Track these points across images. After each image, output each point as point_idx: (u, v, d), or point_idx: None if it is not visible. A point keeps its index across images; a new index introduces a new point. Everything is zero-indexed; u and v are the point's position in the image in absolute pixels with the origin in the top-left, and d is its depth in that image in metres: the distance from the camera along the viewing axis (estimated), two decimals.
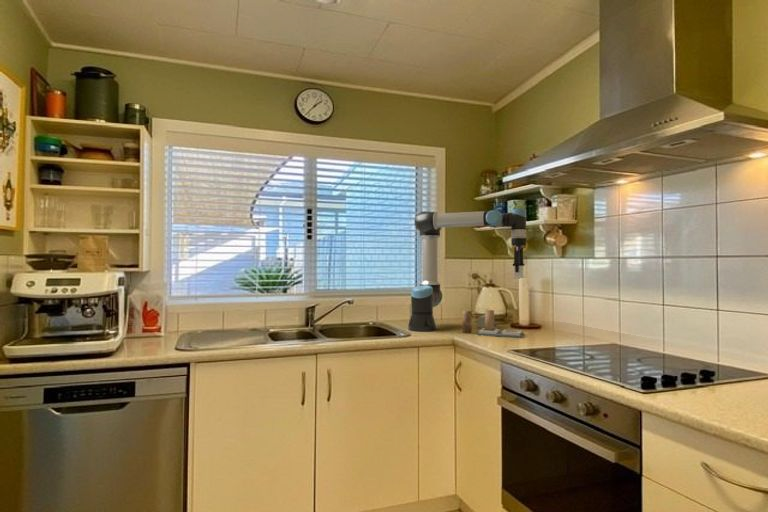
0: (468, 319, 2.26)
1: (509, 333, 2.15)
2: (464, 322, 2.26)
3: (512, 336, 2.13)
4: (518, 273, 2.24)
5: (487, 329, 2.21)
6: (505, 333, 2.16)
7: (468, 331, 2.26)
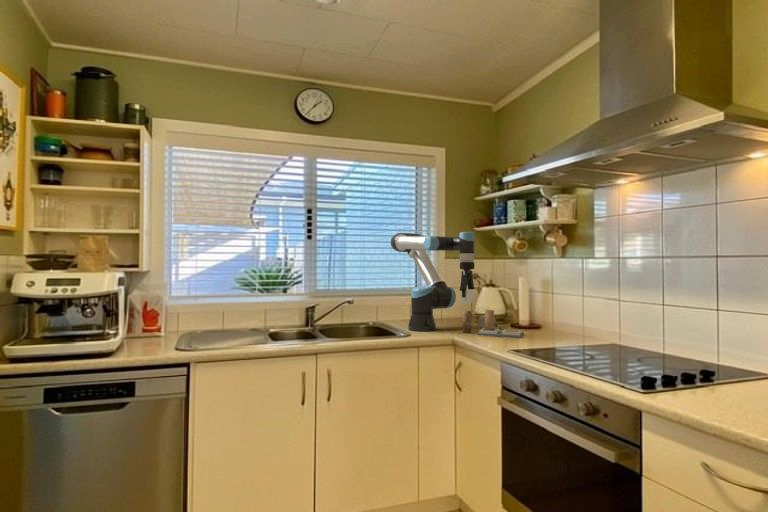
0: (468, 319, 2.26)
1: (509, 333, 2.15)
2: (464, 322, 2.26)
3: (512, 336, 2.13)
4: (465, 298, 2.21)
5: (487, 329, 2.21)
6: (505, 333, 2.16)
7: (468, 331, 2.26)
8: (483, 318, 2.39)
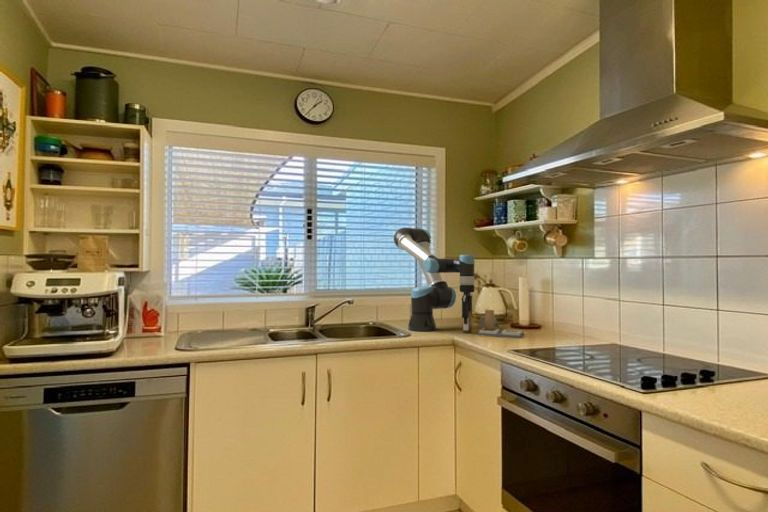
0: None
1: (509, 333, 2.15)
2: None
3: (512, 336, 2.13)
4: (467, 325, 2.25)
5: (487, 329, 2.21)
6: (505, 333, 2.16)
7: (468, 331, 2.26)
8: (484, 318, 2.39)
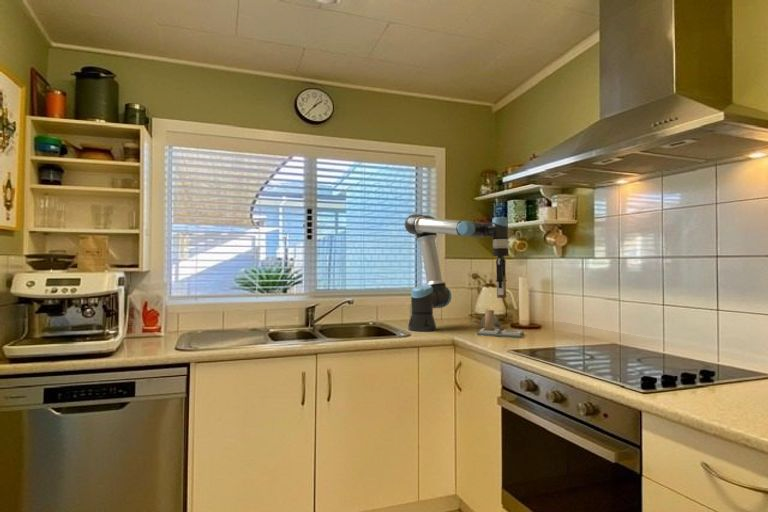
0: (503, 283, 2.19)
1: (509, 333, 2.15)
2: None
3: (512, 336, 2.13)
4: (501, 289, 2.18)
5: (487, 329, 2.21)
6: (505, 333, 2.16)
7: (503, 295, 2.18)
8: None
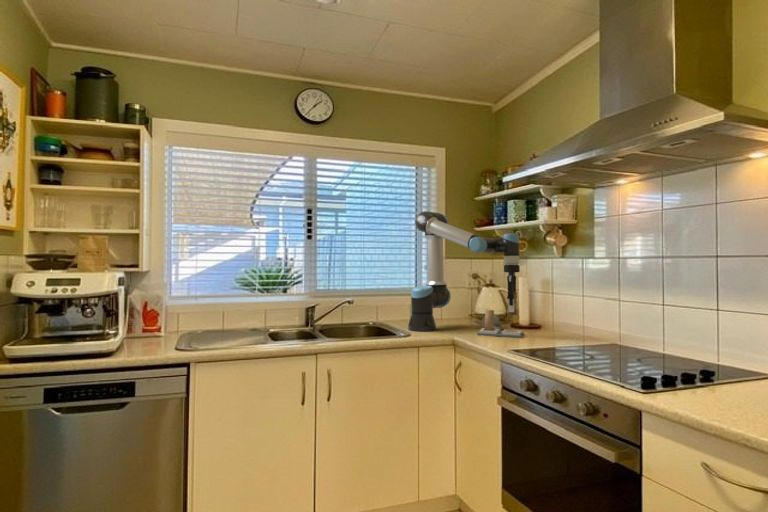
0: None
1: (509, 333, 2.15)
2: None
3: (512, 336, 2.13)
4: (512, 306, 2.16)
5: (487, 329, 2.21)
6: (505, 333, 2.16)
7: (514, 313, 2.16)
8: None
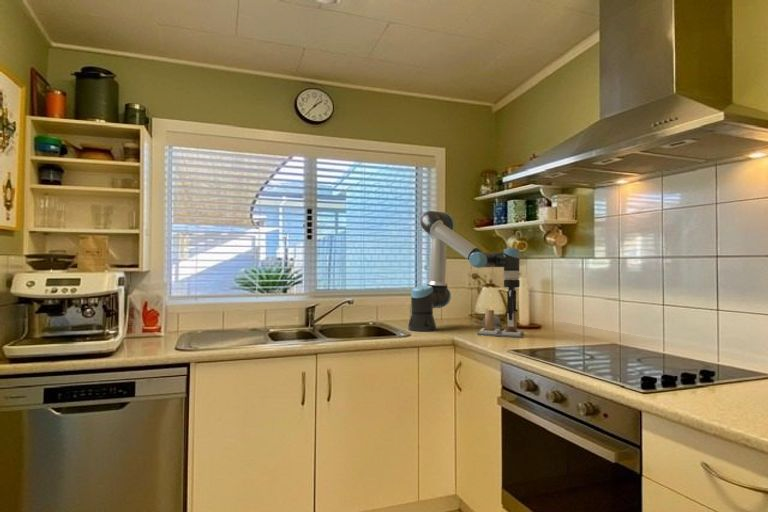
0: None
1: (509, 333, 2.15)
2: None
3: (512, 336, 2.13)
4: (512, 321, 2.14)
5: (487, 329, 2.21)
6: (505, 333, 2.16)
7: None
8: None
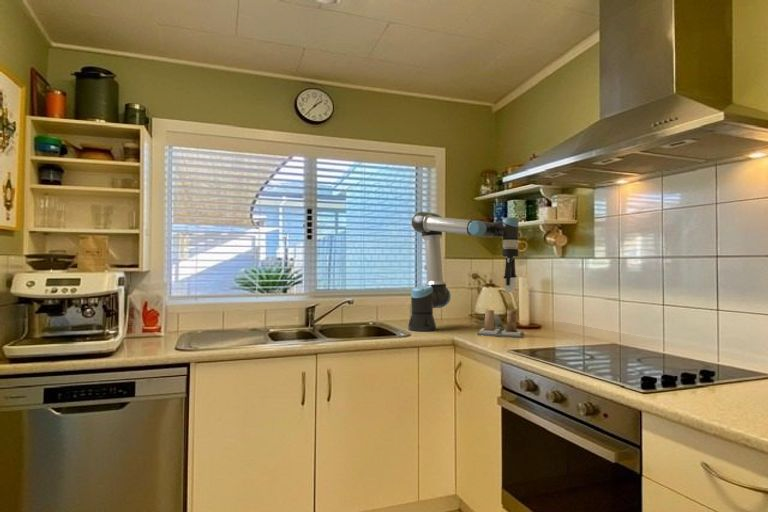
0: (513, 319, 2.17)
1: (509, 333, 2.15)
2: (509, 322, 2.17)
3: (512, 336, 2.13)
4: (509, 286, 2.13)
5: (487, 329, 2.21)
6: (505, 333, 2.16)
7: None
8: None
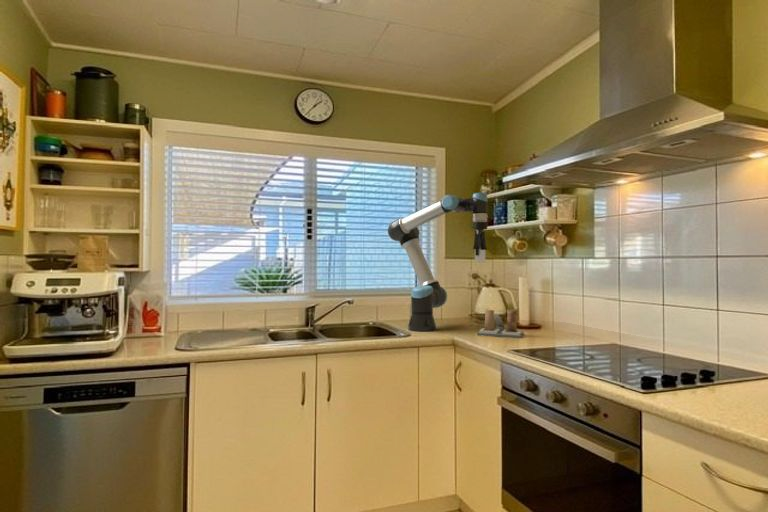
0: (513, 319, 2.17)
1: (509, 333, 2.15)
2: (509, 322, 2.17)
3: (512, 336, 2.13)
4: (478, 256, 2.27)
5: (487, 329, 2.21)
6: (505, 333, 2.16)
7: None
8: None
